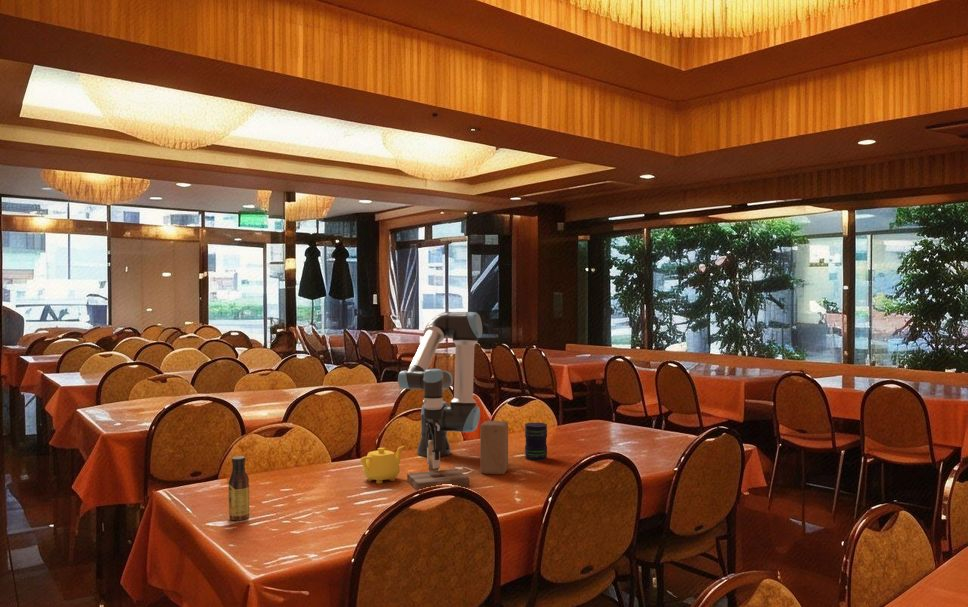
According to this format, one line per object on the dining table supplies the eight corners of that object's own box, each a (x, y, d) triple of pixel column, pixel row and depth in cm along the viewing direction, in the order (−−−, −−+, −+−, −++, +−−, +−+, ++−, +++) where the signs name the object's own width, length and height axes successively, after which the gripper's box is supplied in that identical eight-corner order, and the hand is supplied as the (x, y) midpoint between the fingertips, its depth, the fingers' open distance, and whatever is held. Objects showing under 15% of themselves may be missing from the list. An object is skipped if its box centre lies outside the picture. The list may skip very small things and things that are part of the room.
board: (407, 481, 266) (407, 473, 266) (456, 476, 274) (456, 468, 274) (417, 491, 252) (417, 483, 252) (469, 486, 260) (469, 478, 260)
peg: (426, 475, 276) (426, 440, 276) (437, 474, 278) (436, 439, 278) (430, 477, 272) (429, 442, 272) (440, 476, 274) (440, 441, 274)
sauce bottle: (231, 515, 225) (231, 454, 225) (251, 515, 225) (251, 454, 225) (226, 522, 218) (225, 459, 218) (246, 521, 219) (246, 459, 219)
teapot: (413, 478, 271) (413, 446, 271) (371, 487, 258) (371, 454, 258) (393, 472, 281) (393, 441, 281) (351, 480, 268) (351, 448, 268)
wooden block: (504, 475, 275) (504, 425, 275) (479, 474, 277) (479, 424, 277) (508, 469, 285) (508, 420, 285) (484, 468, 287) (484, 420, 287)
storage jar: (521, 459, 302) (521, 425, 302) (528, 455, 311) (528, 421, 311) (543, 461, 298) (543, 427, 298) (550, 456, 307) (550, 423, 307)
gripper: (417, 405, 283) (417, 461, 283) (431, 412, 264) (431, 472, 264) (434, 404, 285) (435, 459, 286) (450, 411, 267) (450, 470, 267)
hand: (433, 465), depth 275 cm, fingers open, 7 cm apart
